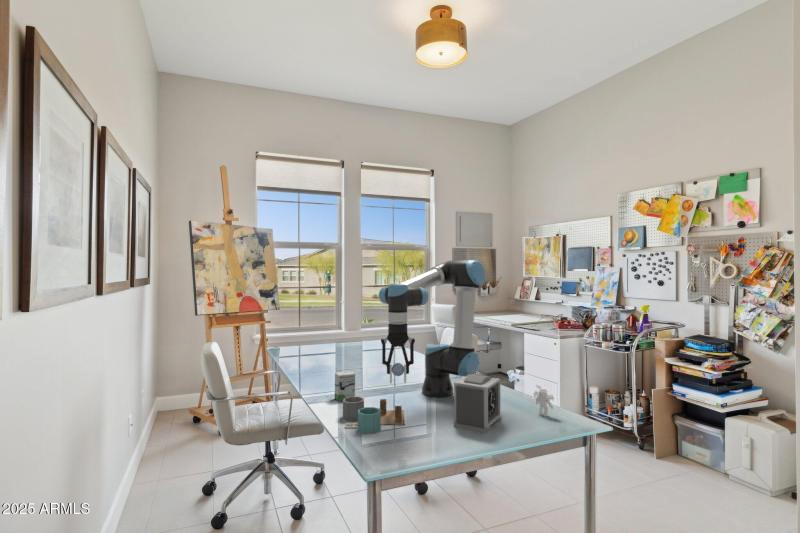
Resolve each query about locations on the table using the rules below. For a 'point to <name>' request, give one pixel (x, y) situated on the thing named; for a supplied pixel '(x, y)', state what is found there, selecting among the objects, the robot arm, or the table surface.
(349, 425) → the card
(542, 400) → the blocky character figurine
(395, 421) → the stand
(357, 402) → the tube charcoal
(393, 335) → the robot arm
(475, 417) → the alarm clock
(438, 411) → the table surface
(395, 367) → the ball slate
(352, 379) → the ink box
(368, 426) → the tube teal
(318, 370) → the table surface
